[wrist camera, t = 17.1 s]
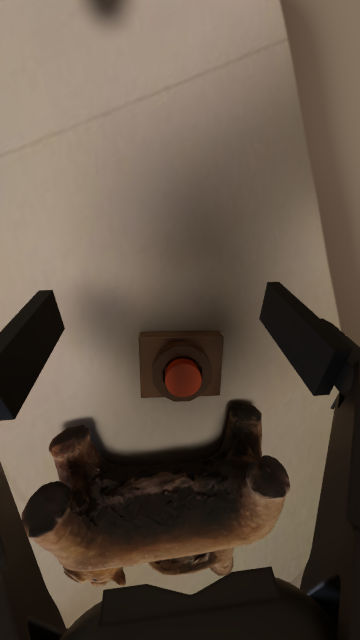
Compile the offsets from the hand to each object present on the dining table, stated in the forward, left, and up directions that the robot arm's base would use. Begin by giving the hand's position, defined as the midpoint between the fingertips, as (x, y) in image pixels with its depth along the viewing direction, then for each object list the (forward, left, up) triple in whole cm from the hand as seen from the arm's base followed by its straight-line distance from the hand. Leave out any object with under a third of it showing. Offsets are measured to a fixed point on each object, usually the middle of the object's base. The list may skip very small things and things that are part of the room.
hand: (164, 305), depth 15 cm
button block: (-2, +10, -14) cm, 17 cm away
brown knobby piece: (0, +30, -14) cm, 33 cm away
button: (-2, +10, -10) cm, 14 cm away
